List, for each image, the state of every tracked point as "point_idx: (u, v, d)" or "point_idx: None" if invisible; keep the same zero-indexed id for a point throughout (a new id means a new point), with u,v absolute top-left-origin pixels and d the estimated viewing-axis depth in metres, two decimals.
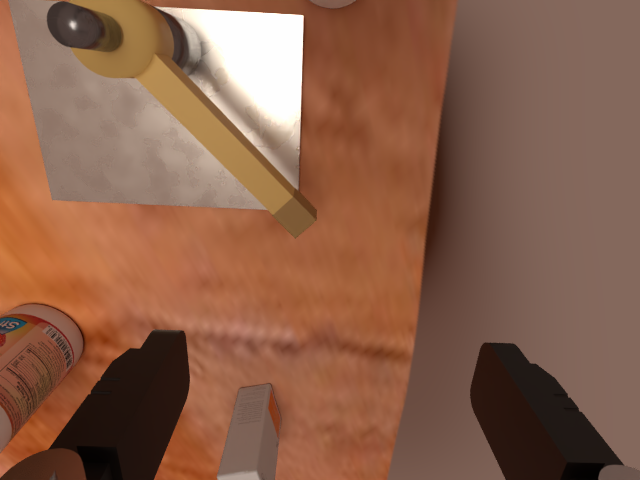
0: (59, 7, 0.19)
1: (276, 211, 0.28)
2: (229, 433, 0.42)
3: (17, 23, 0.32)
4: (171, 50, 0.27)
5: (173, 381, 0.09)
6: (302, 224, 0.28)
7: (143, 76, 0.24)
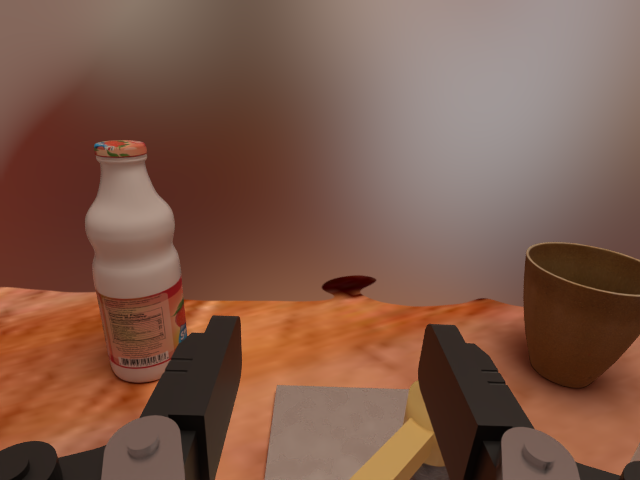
0: None
1: None
2: None
3: (403, 390, 0.47)
4: (433, 461, 0.30)
5: (233, 363, 0.10)
6: None
7: (413, 423, 0.30)
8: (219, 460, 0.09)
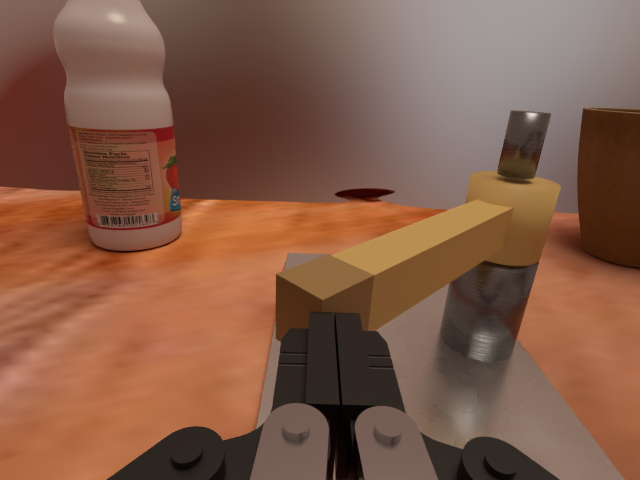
0: (541, 112, 0.22)
1: (336, 261, 0.14)
2: None
3: None
4: (507, 257, 0.22)
5: None
6: (311, 282, 0.12)
7: (482, 201, 0.22)
8: None
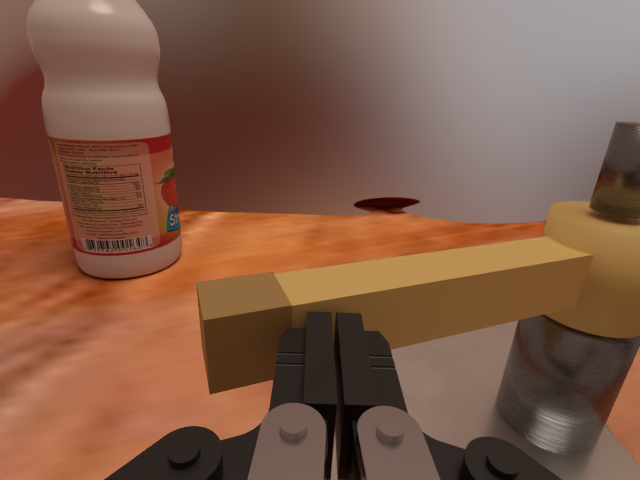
0: None
1: (276, 281, 0.12)
2: None
3: None
4: (581, 321, 0.16)
5: None
6: (216, 298, 0.11)
7: (552, 240, 0.16)
8: None
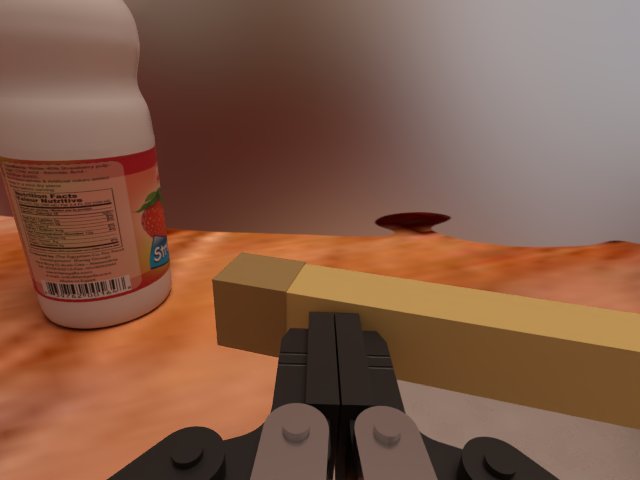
0: None
1: (301, 271, 0.13)
2: None
3: None
4: None
5: None
6: (239, 268, 0.13)
7: None
8: None
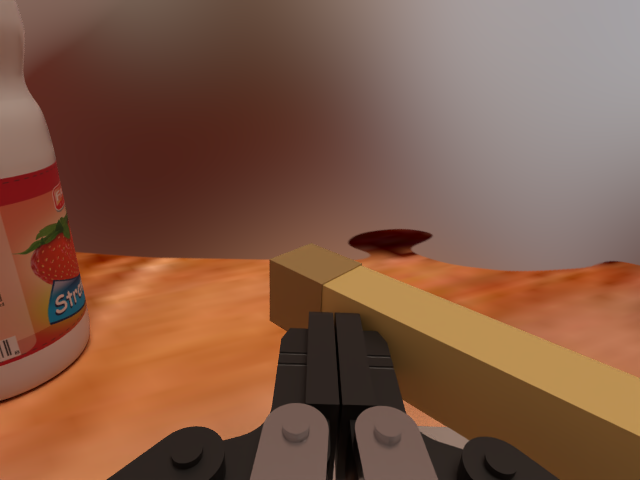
0: None
1: (354, 271, 0.13)
2: None
3: None
4: None
5: None
6: (298, 255, 0.14)
7: None
8: None
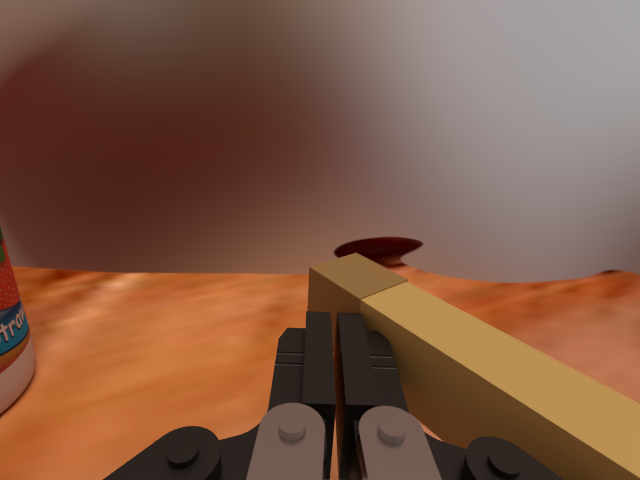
0: None
1: (398, 287, 0.12)
2: None
3: None
4: None
5: None
6: (340, 265, 0.13)
7: None
8: None
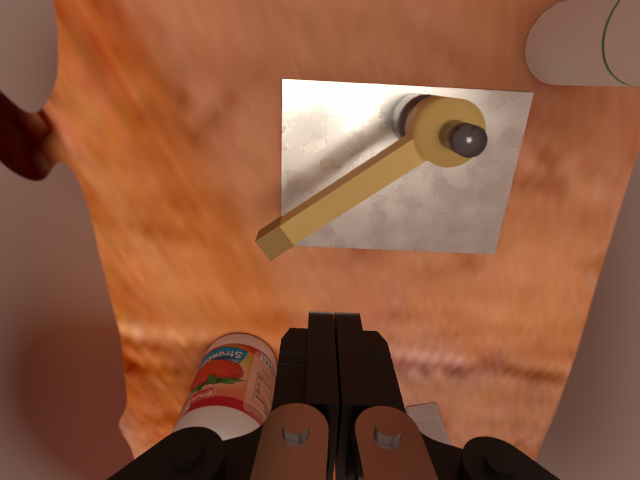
0: (469, 129, 0.24)
1: (282, 229, 0.32)
2: None
3: (285, 99, 0.37)
4: None
5: None
6: (267, 249, 0.32)
7: (412, 146, 0.29)
8: None
